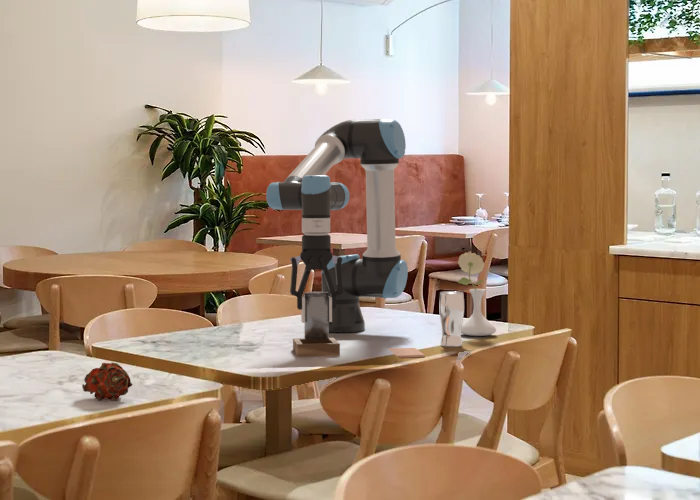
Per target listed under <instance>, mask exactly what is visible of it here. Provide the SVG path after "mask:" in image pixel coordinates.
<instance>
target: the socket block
mask: <svg viewBox="0 0 700 500" xmlns="http://www.w3.org/2000/svg"><path fill="white" fill-rule="evenodd" d="M340 344H341V343H340V342H339V341H337V340H336V339H335V338H334V337H329V339H325V340H307V339H305V337H304V338H302V337H301V338H292V351H293V352H294V354H295V355H296V356H297V357H329V356H333V357H335V356H340V355H341V354H340V353H341V352H340V351H341V345H340Z"/></svg>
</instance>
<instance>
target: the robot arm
mask: <svg viewBox="0 0 700 500" xmlns="http://www.w3.org/2000/svg"><path fill="white" fill-rule="evenodd" d="M406 147H407V146H406V137H405V133H404V130H403V128H402V126H401V124H400V123H399V122H398V121H397V120H395V119H389V118H387V119H386V118H376V119H375V118H374V119H348V120H345V121H341V122H339V123H337V124H335V125H334V126H332V127H330V128H329V129H327V130H326V131H324V132H323V133H322V134H321V135H320V136H319V137H318V138H317V140H316V141H315V142H314V148H313V149H312V150H311V151H309V153H308V154H307V155H306V156H305V157H304V159H302V161H300V163H299V164H298V165H297V166H296V167H295V169H293V171H292V172H291V173H290V174H289V175H288V176H287V177H286V179H284V180H283V181H282V182H281V181H277V182H271V183H270V184H268V185H267V188H266V195H265V198H266V203H267V205H268V207H270V209H272V210H281V211H292V210H293V211H301V233H303V234H302V236H301V252H300V254H299V255H297V256H291V257H290V263H291V275H290V286H289V289H290V290H289V292H290V295H291V296H295V297H296V308H297V309H298V310H299V311H301V312H300V313H301V314H300V315H301V317H300V318H301V319H300V321H301V323H302V324H303V323H305V297H304V293H305V289H306V286H307V283H308V280H309V276H310V274H311V271H315V270H320V274H321V292H328V293H329V333H336V332H345V333H355V332H356V333H359V332H362V331H365V330H366V323H365V320H364V316H363V313H362V309H361V306H360V298H381V299H385V300H386V299H396V298H398V297H400V296H401V295H402V294H403V292H404V290H405V288H406V285H407V280H408V276H409V275H408V274H409V273H408V272H409V267H408V263H407V261H406V260H404V259H402V257H401V255H402V254H401V252H400V251H399V250H398V249H397V248H396V208H395V205H396V204H395V203H396V202H395V201H396V200H395V199H396V198H395V168H397V167H398V166H399V164H400V159H402V158H403V157H405V153H406ZM346 159H347V160H348V159H360V161H359V162H360V166H361V168H363V169H364V170H365V197H366V198H365V199H366V200H365V201H366V202H365V203H366V205H365V206H366V238H367V239H366V243H367V244H366V245H367V246H366V247H367V248H366V250H365V251H364V252H362V258H361V257H360V255H359V254H358V253H355V254H346V255H338V256H337V255H333V253H332V251H331V243H332V242H331V236H330V233H331V211H340V210H342V209H344V208H345V207H346V206H347V205H348V204H349V202H350V201H349V200H350V190H349V189H348V187H347V186H346V185H345V184H343V183H341V182H337V181H332V182H331V178H330V176H329V175H327V173H328V172H329V171H330V170H331V168H332V167H333V166H335V165H337V164H339V163H340V162H342V160H346ZM300 261H302V262H303V264H304V265H305V267H304V271H303V274H302V277H301V280H300V284H299V286H298V288H297V280H298V279H297V278H298V265H299V264H300ZM297 289H298V290H297Z"/></svg>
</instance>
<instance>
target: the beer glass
mask: <svg viewBox="0 0 700 500" xmlns="http://www.w3.org/2000/svg"><path fill="white" fill-rule="evenodd" d="M464 297H465V296H464V292H463V291H453V290H451V291H447V290H446V291H440V292H439V307H438V308H439V310H438V311H439V318H440V324H441V325H440V326H441V339H440V340H441V341H440V346H441V347H446V348H459V347H462V346H463V339H462V333H461V327H462V323H464V321H463V320H464V315H465V298H464Z"/></svg>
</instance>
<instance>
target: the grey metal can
mask: <svg viewBox="0 0 700 500" xmlns="http://www.w3.org/2000/svg"><path fill="white" fill-rule="evenodd" d="M303 297H305V323H304V325H303V326H304V327H303V329H304V330H303V331H304V338H305V339H307V340H325V339H329V338H330V332H329V293H328V292H322V291H306V292H305V291H304V292H303Z"/></svg>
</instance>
